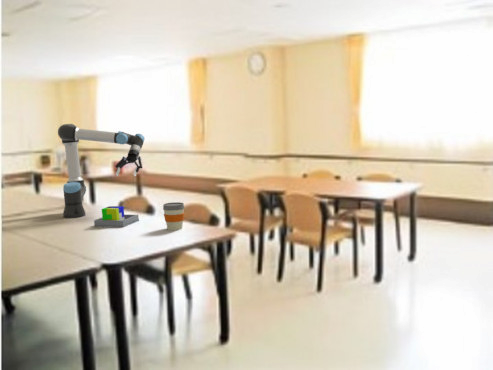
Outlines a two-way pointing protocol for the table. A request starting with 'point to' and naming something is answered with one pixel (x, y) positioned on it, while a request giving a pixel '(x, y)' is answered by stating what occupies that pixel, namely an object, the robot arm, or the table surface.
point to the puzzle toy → (113, 213)
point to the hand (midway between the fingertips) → (125, 175)
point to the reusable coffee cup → (174, 215)
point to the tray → (116, 221)
